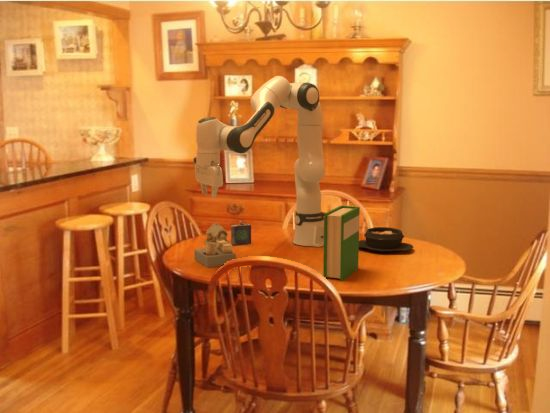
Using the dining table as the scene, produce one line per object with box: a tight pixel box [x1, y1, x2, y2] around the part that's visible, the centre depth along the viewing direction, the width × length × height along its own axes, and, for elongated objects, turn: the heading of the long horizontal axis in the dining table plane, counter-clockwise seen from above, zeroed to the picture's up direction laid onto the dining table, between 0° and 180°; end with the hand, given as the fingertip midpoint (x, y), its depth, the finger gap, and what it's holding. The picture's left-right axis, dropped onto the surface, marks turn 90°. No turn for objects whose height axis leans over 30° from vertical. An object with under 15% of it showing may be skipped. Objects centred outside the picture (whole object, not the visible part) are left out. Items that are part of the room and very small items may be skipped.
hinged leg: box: [216, 240, 234, 253], centre depth 233 cm, size 11×3×3 cm, turn 26°
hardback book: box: [322, 205, 361, 282], centre depth 213 cm, size 18×7×24 cm, turn 154°
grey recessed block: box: [193, 247, 236, 269], centre depth 231 cm, size 12×14×4 cm
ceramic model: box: [204, 221, 231, 247], centre depth 258 cm, size 14×11×10 cm
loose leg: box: [205, 243, 216, 256], centre depth 228 cm, size 4×4×8 cm
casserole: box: [359, 226, 414, 254], centre depth 248 cm, size 25×19×8 cm
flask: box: [230, 220, 252, 247], centre depth 258 cm, size 9×3×11 cm, turn 109°
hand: (209, 195), depth 224 cm, fingers open, 8 cm apart
